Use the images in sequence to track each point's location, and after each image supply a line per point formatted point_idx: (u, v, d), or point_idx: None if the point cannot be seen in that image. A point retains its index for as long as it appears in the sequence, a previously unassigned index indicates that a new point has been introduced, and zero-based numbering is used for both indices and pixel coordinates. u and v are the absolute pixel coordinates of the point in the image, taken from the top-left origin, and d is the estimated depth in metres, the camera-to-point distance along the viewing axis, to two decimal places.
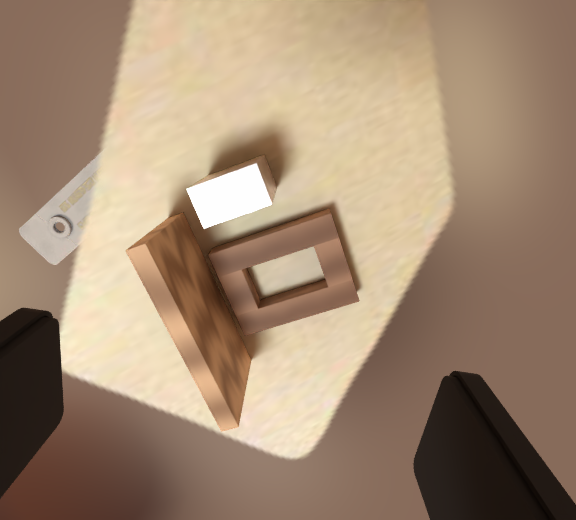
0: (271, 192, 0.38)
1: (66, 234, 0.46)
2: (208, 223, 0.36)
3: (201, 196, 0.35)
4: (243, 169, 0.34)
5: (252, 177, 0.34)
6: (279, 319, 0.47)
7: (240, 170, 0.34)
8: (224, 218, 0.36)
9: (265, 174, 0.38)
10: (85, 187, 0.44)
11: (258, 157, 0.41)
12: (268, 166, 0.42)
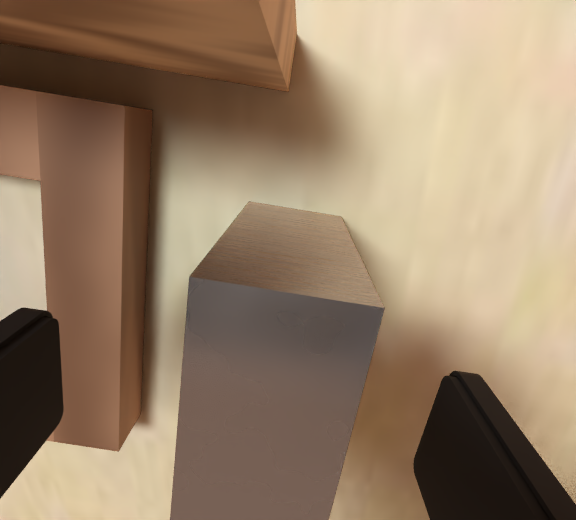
0: None
1: None
2: (201, 306, 0.08)
3: (320, 342, 0.08)
4: (326, 510, 0.09)
5: (285, 519, 0.10)
6: None
7: (328, 500, 0.09)
8: (194, 372, 0.08)
9: None
10: None
11: None
12: None
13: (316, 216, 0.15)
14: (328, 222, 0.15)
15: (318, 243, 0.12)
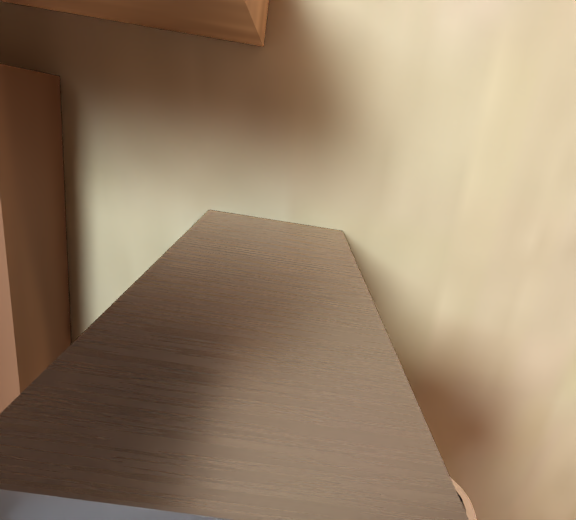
0: None
1: None
2: None
3: None
4: None
5: None
6: None
7: None
8: None
9: None
10: None
11: None
12: None
13: (306, 232, 0.10)
14: (324, 243, 0.10)
15: (306, 294, 0.07)
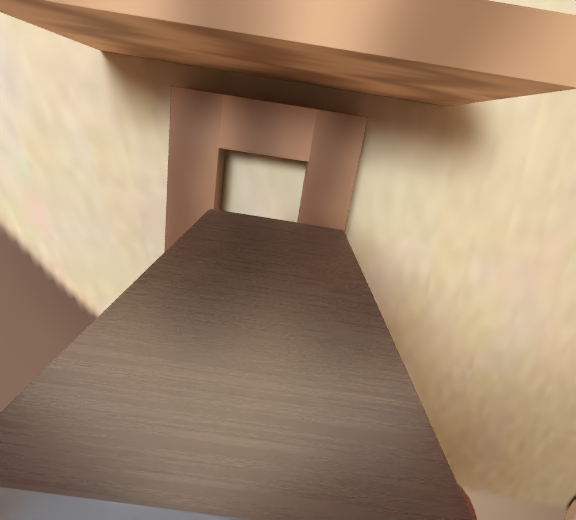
0: None
1: None
2: None
3: None
4: None
5: None
6: (180, 175, 0.23)
7: None
8: None
9: None
10: None
11: None
12: None
13: (307, 231, 0.10)
14: (325, 242, 0.10)
15: (308, 292, 0.07)
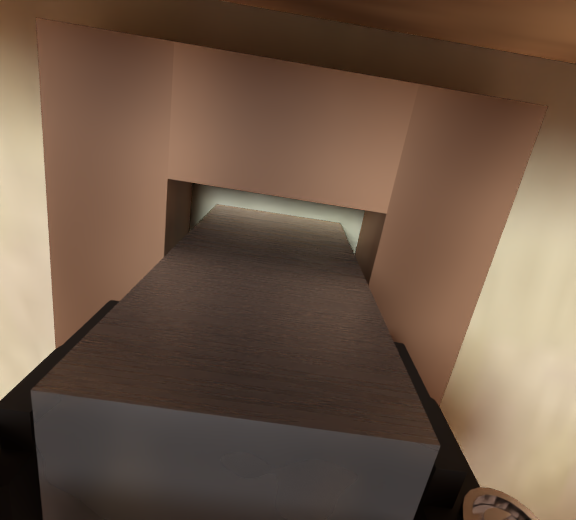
0: None
1: None
2: (66, 443, 0.04)
3: (308, 503, 0.04)
4: None
5: None
6: (79, 241, 0.10)
7: None
8: None
9: None
10: None
11: None
12: None
13: (306, 224, 0.11)
14: (323, 233, 0.11)
15: (307, 274, 0.08)
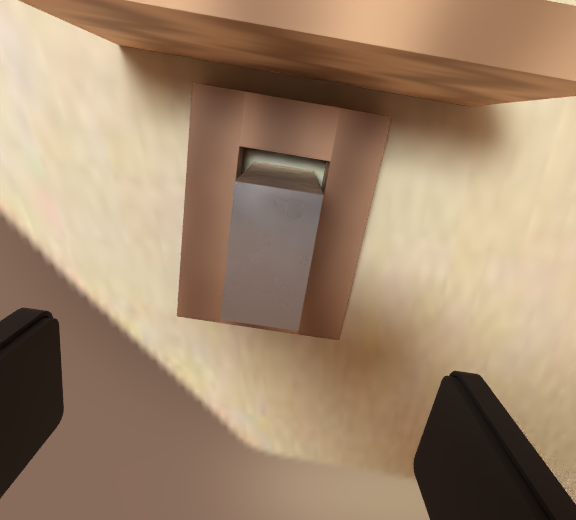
0: None
1: None
2: (239, 196, 0.17)
3: (294, 213, 0.17)
4: (300, 307, 0.19)
5: (279, 314, 0.19)
6: (199, 173, 0.23)
7: (301, 302, 0.19)
8: (235, 230, 0.17)
9: None
10: None
11: None
12: None
13: (297, 170, 0.24)
14: (304, 172, 0.24)
15: (296, 178, 0.21)
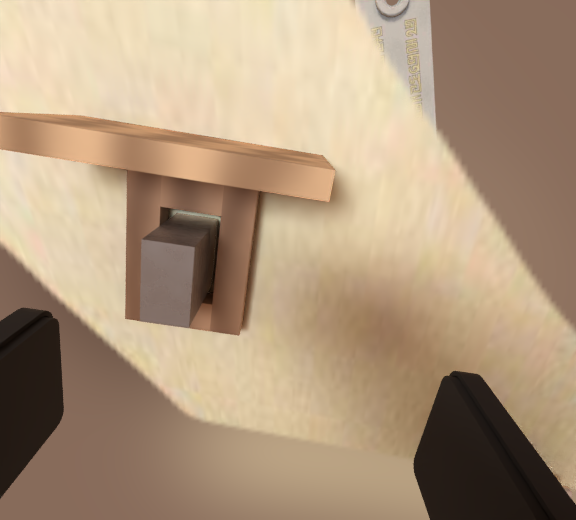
0: None
1: None
2: (145, 247, 0.28)
3: (178, 257, 0.29)
4: (188, 313, 0.30)
5: (176, 317, 0.30)
6: (135, 224, 0.35)
7: (188, 310, 0.30)
8: (144, 267, 0.29)
9: None
10: (414, 74, 0.32)
11: (209, 284, 0.38)
12: None
13: (204, 219, 0.36)
14: (207, 222, 0.35)
15: (192, 230, 0.32)
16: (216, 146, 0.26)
